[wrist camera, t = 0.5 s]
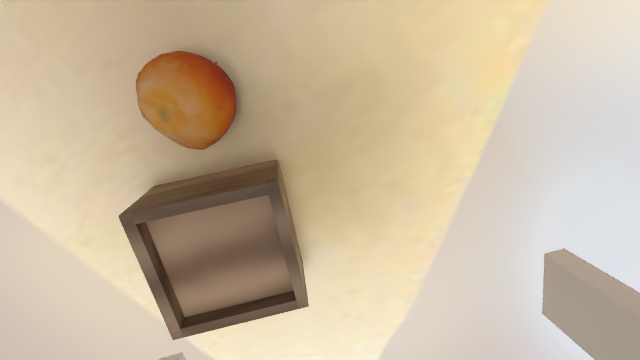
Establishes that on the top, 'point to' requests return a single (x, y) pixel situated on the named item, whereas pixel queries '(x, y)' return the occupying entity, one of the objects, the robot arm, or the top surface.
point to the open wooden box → (218, 249)
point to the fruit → (186, 98)
